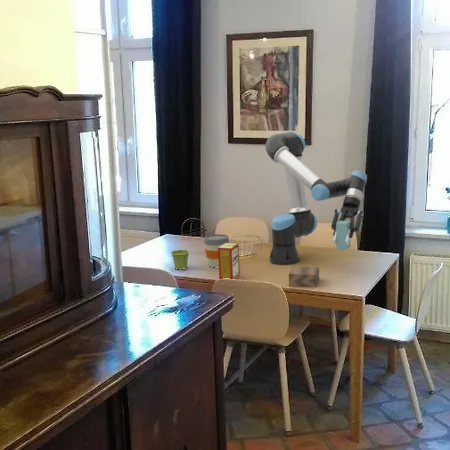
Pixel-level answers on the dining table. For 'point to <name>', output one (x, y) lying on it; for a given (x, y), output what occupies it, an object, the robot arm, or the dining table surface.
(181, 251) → the plant pot
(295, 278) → the walnut block
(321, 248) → the dining table surface
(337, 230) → the teal wooden block
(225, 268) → the baking soda box
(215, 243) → the reusable coffee cup
